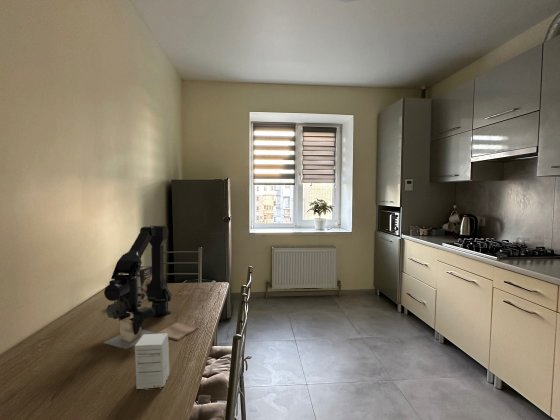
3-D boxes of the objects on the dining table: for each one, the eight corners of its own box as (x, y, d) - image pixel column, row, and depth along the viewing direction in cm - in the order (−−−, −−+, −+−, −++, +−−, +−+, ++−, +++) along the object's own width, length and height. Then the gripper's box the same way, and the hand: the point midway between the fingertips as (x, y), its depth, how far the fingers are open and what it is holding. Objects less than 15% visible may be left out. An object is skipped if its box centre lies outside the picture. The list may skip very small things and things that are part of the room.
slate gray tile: (135, 328, 129) (135, 327, 129) (157, 334, 124) (157, 333, 124) (102, 343, 116) (102, 342, 116) (125, 350, 111) (125, 349, 111)
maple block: (131, 333, 123) (131, 315, 123) (141, 336, 121) (140, 317, 121) (120, 339, 119) (119, 320, 119) (129, 341, 117) (129, 322, 116)
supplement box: (144, 375, 95) (143, 333, 94) (170, 374, 96) (168, 332, 95) (135, 390, 88) (133, 345, 87) (163, 389, 88) (161, 344, 88)
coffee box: (142, 302, 160) (141, 270, 159) (131, 301, 161) (130, 269, 160) (153, 296, 169) (152, 265, 168) (142, 295, 170) (141, 265, 169)
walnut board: (177, 324, 132) (177, 322, 132) (198, 329, 127) (198, 327, 127) (156, 335, 122) (156, 333, 122) (178, 340, 117) (178, 338, 117)
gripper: (92, 295, 116) (93, 337, 117) (128, 302, 108) (129, 347, 109) (119, 286, 126) (120, 325, 127) (154, 292, 118) (155, 334, 119)
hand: (130, 333), depth 120 cm, fingers closed on maple block, 5 cm apart
